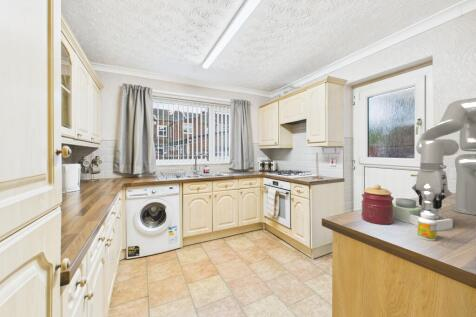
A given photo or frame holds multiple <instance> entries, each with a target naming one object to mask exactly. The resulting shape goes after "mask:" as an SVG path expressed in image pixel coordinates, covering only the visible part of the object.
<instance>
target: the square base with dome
mask: <svg viewBox="0 0 476 317" xmlns="http://www.w3.org/2000/svg"><path fill="white" fill-rule="evenodd" d="M392 204H393V205H394V206H393V219H396V220H398V221H400V222H401V221H402V222H404V223H407V224H412V225H414V226H417V227H418V219H419V218H421V217H420V210H421V205H417V201H416V200H414V199H411V198H406V197H405V198H403V197H398V198H395V202H392ZM453 221H454V219H452V218H448V217H445V216H442V215H439V219H438V220H436V222H437V228H436V232H437V231H443V230H449V229H450V230H451V229H453V224H454V222H453Z"/></svg>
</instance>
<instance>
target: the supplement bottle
mask: <svg viewBox="0 0 476 317" xmlns="http://www.w3.org/2000/svg"><path fill="white" fill-rule="evenodd" d="M434 218H435V215H434V214H432V213H427V212H421V218H419V219H418V226H417V237H418V238H419V239H422V240H425V241H430V242H432V241H433V242H434V241H436V239H437V231H436V228H437V222H436V221H435V220H434Z"/></svg>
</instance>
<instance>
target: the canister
mask: <svg viewBox="0 0 476 317" xmlns="http://www.w3.org/2000/svg"><path fill="white" fill-rule="evenodd" d="M363 192H364V193H362V194H361V197H362V201H361V213H360V216H361V218H362V220H363V221H366V222H368V223H371V224H375V225H376V224H377V225H387V226H388V225H391V224H393V221H394V218H393V206H394V205H393V204H392V203H393V200H394V197H393V196H392V194H393V192H391V191H389V190H388V189H386V188H381V185H380V184H375V185H374V187H367V188H366V189H364V190H363Z"/></svg>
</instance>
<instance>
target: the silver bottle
mask: <svg viewBox="0 0 476 317" xmlns="http://www.w3.org/2000/svg"><path fill="white" fill-rule="evenodd" d="M421 195H422V205H420V207H421V210H420V217H421V212H427V213H432V214H434V215H435V218H434V220H435V221H436V220H438V219H439V216H440V212H439V209H435V208H434V200H436V197H435V193H433V189H432V187H431V186H429V185H428V184H424V185H422V186H421Z"/></svg>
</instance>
